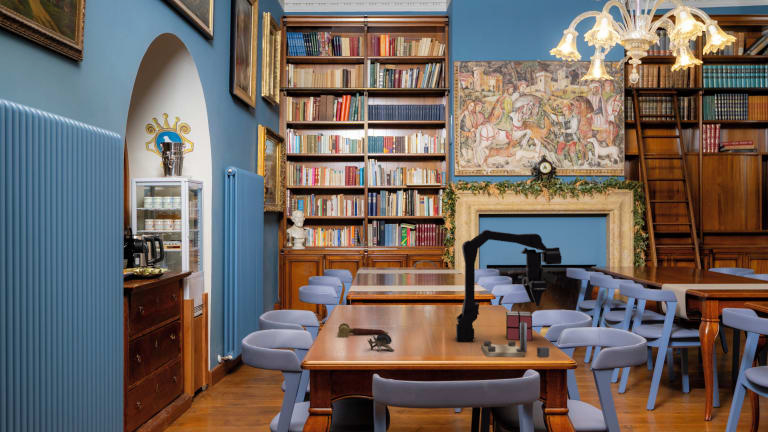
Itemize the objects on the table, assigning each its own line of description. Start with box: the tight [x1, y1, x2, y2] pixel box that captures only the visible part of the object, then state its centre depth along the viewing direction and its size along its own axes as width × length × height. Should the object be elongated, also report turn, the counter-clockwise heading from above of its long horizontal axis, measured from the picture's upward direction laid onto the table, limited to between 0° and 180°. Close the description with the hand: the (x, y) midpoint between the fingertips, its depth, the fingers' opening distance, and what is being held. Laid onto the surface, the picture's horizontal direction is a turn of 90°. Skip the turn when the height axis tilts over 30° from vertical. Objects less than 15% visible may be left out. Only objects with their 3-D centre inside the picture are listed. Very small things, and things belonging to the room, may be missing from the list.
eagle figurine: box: [367, 334, 395, 353], centre depth 202 cm, size 8×7×9 cm
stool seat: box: [480, 321, 527, 358], centre depth 199 cm, size 14×13×12 cm
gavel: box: [337, 322, 389, 339], centre depth 231 cm, size 21×5×10 cm
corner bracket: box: [536, 346, 550, 358], centre depth 193 cm, size 2×4×3 cm, turn 104°
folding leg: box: [519, 323, 528, 352], centre depth 198 cm, size 7×2×10 cm, turn 164°
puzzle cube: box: [505, 311, 533, 342], centre depth 225 cm, size 10×10×10 cm
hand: (535, 304), depth 219 cm, fingers open, 9 cm apart
